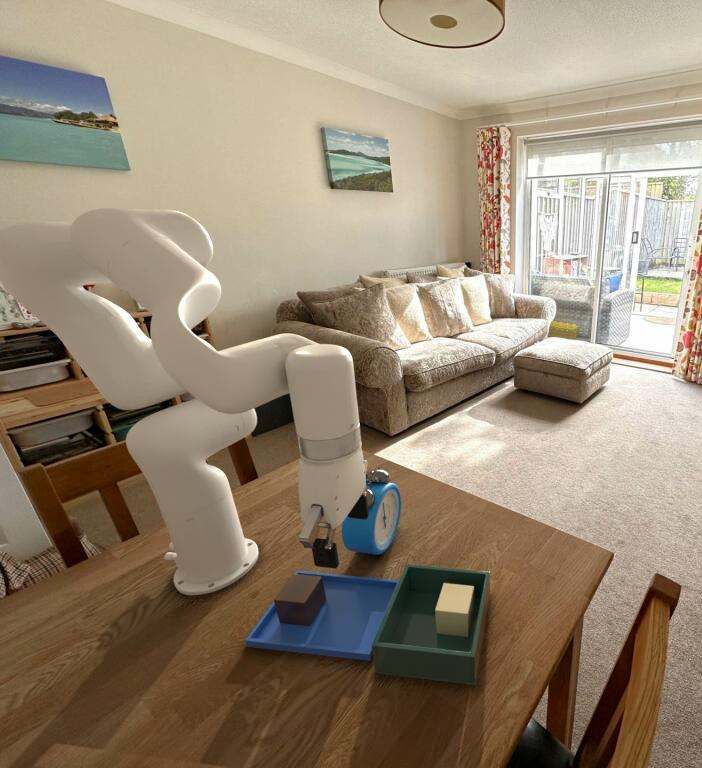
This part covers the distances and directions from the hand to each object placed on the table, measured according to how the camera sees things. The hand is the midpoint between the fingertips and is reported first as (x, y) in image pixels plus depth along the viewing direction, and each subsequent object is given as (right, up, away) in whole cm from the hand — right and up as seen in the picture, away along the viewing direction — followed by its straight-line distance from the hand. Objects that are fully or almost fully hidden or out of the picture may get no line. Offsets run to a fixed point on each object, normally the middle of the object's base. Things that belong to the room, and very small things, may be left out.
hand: (344, 539), depth 59 cm
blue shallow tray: (-5, -15, +6) cm, 16 cm away
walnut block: (-9, -14, +6) cm, 17 cm away
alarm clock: (-2, -9, +20) cm, 22 cm away
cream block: (+16, -15, +5) cm, 22 cm away
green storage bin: (+13, -16, +3) cm, 21 cm away
